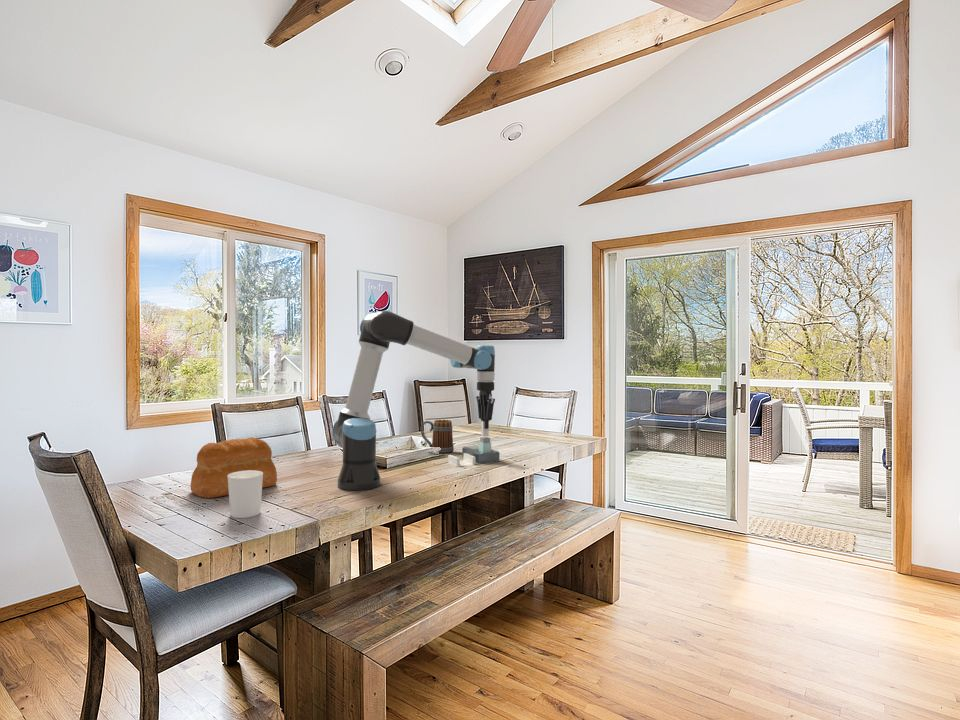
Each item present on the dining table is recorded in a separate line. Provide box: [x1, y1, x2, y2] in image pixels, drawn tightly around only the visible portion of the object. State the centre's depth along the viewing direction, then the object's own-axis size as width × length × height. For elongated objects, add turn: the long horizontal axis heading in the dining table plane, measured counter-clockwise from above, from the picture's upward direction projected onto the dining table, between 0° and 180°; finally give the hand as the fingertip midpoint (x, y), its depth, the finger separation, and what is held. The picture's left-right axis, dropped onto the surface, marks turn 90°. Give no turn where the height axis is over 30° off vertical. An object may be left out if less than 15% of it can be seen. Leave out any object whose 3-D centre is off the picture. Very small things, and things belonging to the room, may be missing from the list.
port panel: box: [461, 445, 500, 465], centre depth 238 cm, size 10×16×5 cm, turn 27°
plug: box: [478, 436, 492, 453], centre depth 234 cm, size 4×4×11 cm
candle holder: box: [227, 470, 263, 519], centre depth 162 cm, size 10×10×12 cm
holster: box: [447, 453, 476, 467], centre depth 229 cm, size 9×9×4 cm
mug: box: [420, 419, 455, 456], centre depth 255 cm, size 16×11×15 cm
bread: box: [190, 437, 278, 499], centre depth 190 cm, size 16×26×17 cm, turn 140°
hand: (484, 435), depth 234 cm, fingers closed
